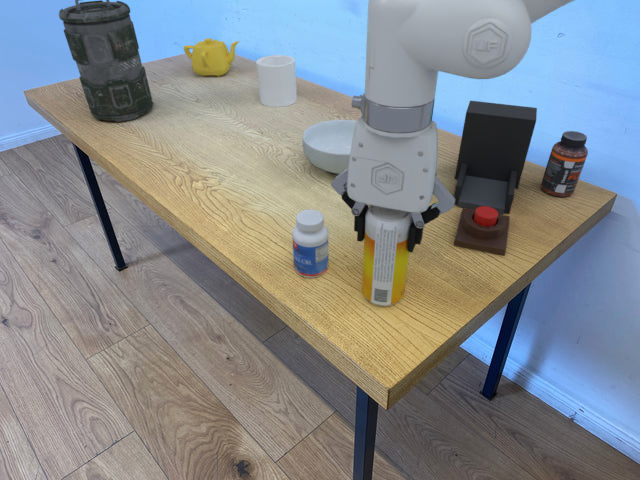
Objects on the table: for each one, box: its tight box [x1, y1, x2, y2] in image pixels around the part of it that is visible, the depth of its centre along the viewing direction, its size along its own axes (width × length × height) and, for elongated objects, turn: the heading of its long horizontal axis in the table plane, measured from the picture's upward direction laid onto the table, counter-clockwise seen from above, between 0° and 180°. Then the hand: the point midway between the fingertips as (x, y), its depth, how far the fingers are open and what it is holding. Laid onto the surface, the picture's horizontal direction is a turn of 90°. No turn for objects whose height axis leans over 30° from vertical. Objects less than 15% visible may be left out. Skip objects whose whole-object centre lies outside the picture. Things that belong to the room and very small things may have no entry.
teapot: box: [183, 37, 240, 77], centre depth 147 cm, size 14×13×10 cm
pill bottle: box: [291, 208, 330, 279], centre depth 71 cm, size 6×5×10 cm
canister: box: [58, 0, 154, 123], centre depth 118 cm, size 16×16×28 cm
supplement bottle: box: [540, 130, 589, 198], centre depth 87 cm, size 6×6×11 cm
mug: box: [256, 54, 298, 108], centre depth 128 cm, size 14×10×11 cm
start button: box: [474, 206, 498, 227], centre depth 78 cm, size 4×4×2 cm
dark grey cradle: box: [453, 100, 538, 215], centre depth 87 cm, size 12×16×14 cm
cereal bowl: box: [301, 119, 357, 175], centre depth 98 cm, size 17×17×7 cm
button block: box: [453, 207, 511, 256], centre depth 79 cm, size 8×10×3 cm
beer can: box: [361, 205, 413, 307], centre depth 64 cm, size 6×6×15 cm
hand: (387, 239), depth 63 cm, fingers closed on beer can, 6 cm apart
